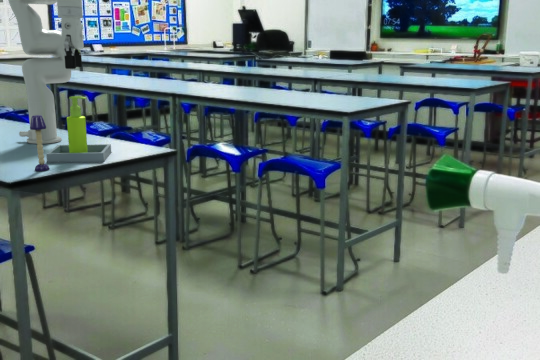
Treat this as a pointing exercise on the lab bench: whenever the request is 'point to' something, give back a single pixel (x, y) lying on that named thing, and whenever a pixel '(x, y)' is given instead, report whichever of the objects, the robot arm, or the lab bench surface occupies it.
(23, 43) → the robot arm
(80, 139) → the soap dispenser
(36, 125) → the toy lamp
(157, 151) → the lab bench surface
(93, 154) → the tray
